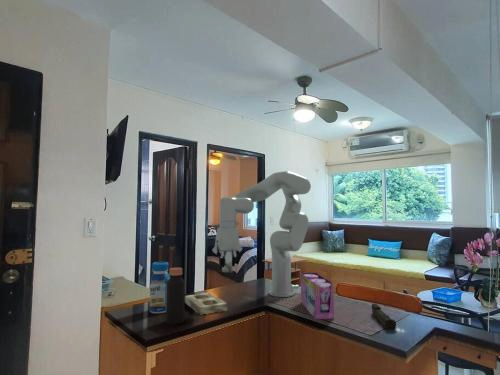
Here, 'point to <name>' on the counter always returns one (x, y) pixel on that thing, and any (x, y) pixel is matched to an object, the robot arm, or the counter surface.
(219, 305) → the jig plate
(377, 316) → the hand tool
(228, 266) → the steel sleeve
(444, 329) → the counter surface
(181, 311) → the vinegar
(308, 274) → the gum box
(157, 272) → the beverage bottle
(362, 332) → the counter surface
